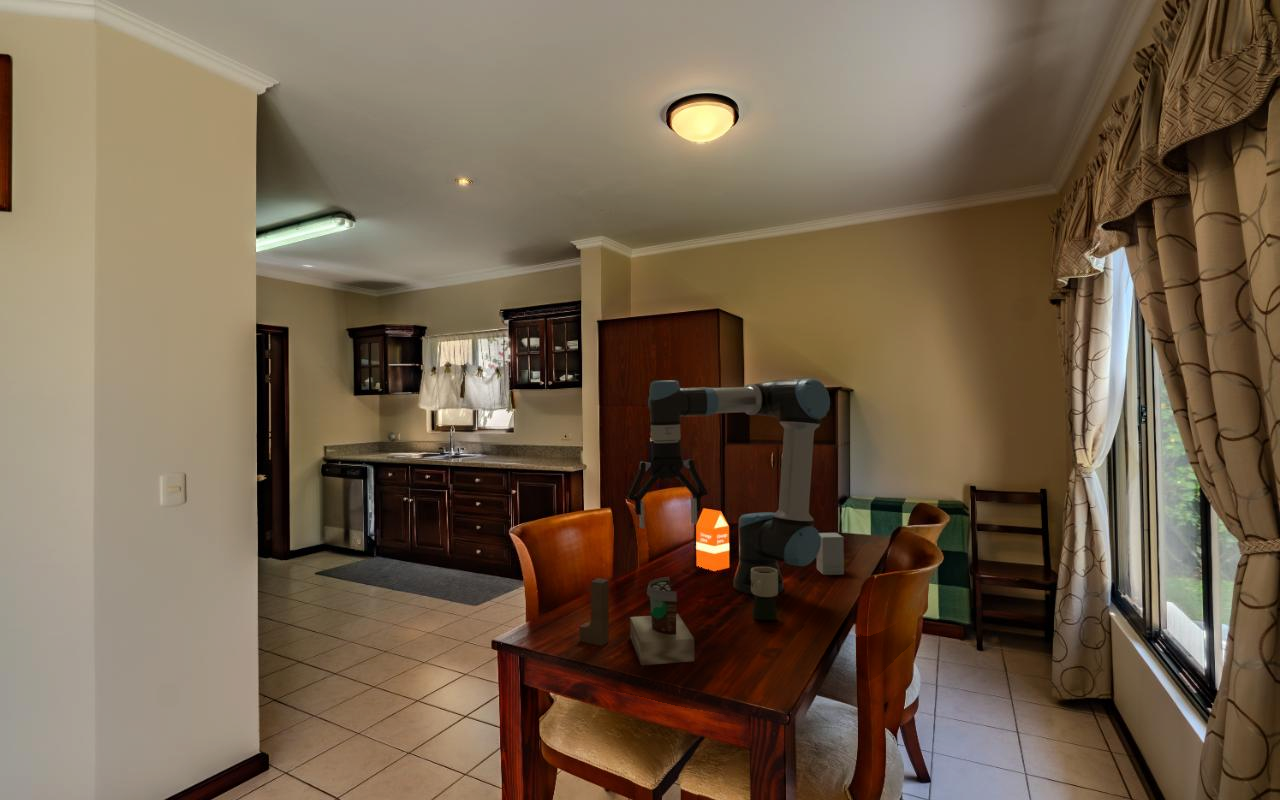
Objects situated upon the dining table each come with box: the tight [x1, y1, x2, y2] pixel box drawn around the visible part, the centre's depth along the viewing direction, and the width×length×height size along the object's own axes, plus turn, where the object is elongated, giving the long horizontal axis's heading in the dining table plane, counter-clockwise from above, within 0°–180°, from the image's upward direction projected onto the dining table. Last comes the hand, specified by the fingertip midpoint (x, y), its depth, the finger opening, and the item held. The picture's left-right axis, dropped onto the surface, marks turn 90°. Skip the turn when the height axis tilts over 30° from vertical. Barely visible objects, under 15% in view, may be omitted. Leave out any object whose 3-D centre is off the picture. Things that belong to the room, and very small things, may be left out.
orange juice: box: [695, 508, 730, 572], centre depth 211 cm, size 8×9×20 cm
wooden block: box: [578, 577, 610, 647], centre depth 145 cm, size 7×3×15 cm, turn 64°
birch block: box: [629, 613, 695, 666], centre depth 141 cm, size 12×16×5 cm
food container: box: [646, 576, 678, 634], centre depth 141 cm, size 12×6×10 cm, turn 5°
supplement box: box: [816, 532, 845, 576], centre depth 203 cm, size 7×7×13 cm
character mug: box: [751, 567, 779, 622], centre depth 160 cm, size 11×7×13 cm, turn 151°
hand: (668, 525), depth 152 cm, fingers open, 13 cm apart
